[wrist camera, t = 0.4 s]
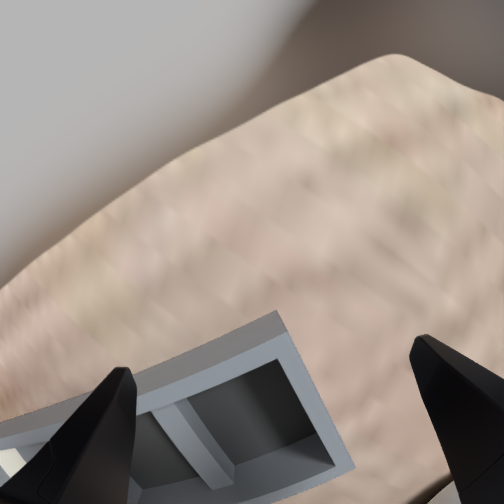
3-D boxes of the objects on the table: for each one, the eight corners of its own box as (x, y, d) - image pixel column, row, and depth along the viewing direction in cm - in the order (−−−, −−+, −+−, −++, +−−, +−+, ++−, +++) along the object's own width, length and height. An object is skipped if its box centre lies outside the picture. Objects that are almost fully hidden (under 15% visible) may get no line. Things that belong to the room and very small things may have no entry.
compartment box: (336, 430, 23) (356, 467, 18) (50, 504, 23) (33, 529, 17) (276, 309, 23) (287, 331, 17) (-12, 425, 22) (-37, 445, 17)
